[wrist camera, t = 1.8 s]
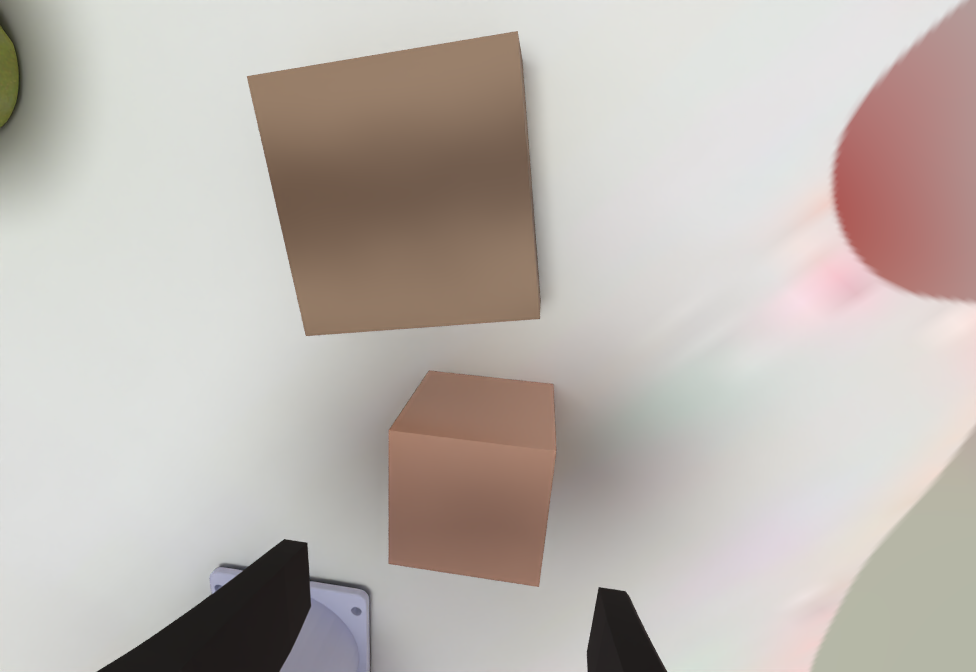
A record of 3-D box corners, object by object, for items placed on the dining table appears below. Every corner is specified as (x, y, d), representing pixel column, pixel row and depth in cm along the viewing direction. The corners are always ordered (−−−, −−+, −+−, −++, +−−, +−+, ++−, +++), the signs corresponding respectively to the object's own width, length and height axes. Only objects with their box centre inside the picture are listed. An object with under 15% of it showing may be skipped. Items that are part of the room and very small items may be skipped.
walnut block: (540, 299, 17) (539, 318, 14) (343, 314, 18) (305, 336, 15) (522, 63, 15) (517, 31, 12) (299, 98, 16) (246, 76, 13)
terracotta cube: (540, 491, 19) (538, 586, 15) (426, 475, 20) (388, 563, 15) (553, 383, 18) (556, 451, 13) (429, 369, 18) (388, 430, 14)
